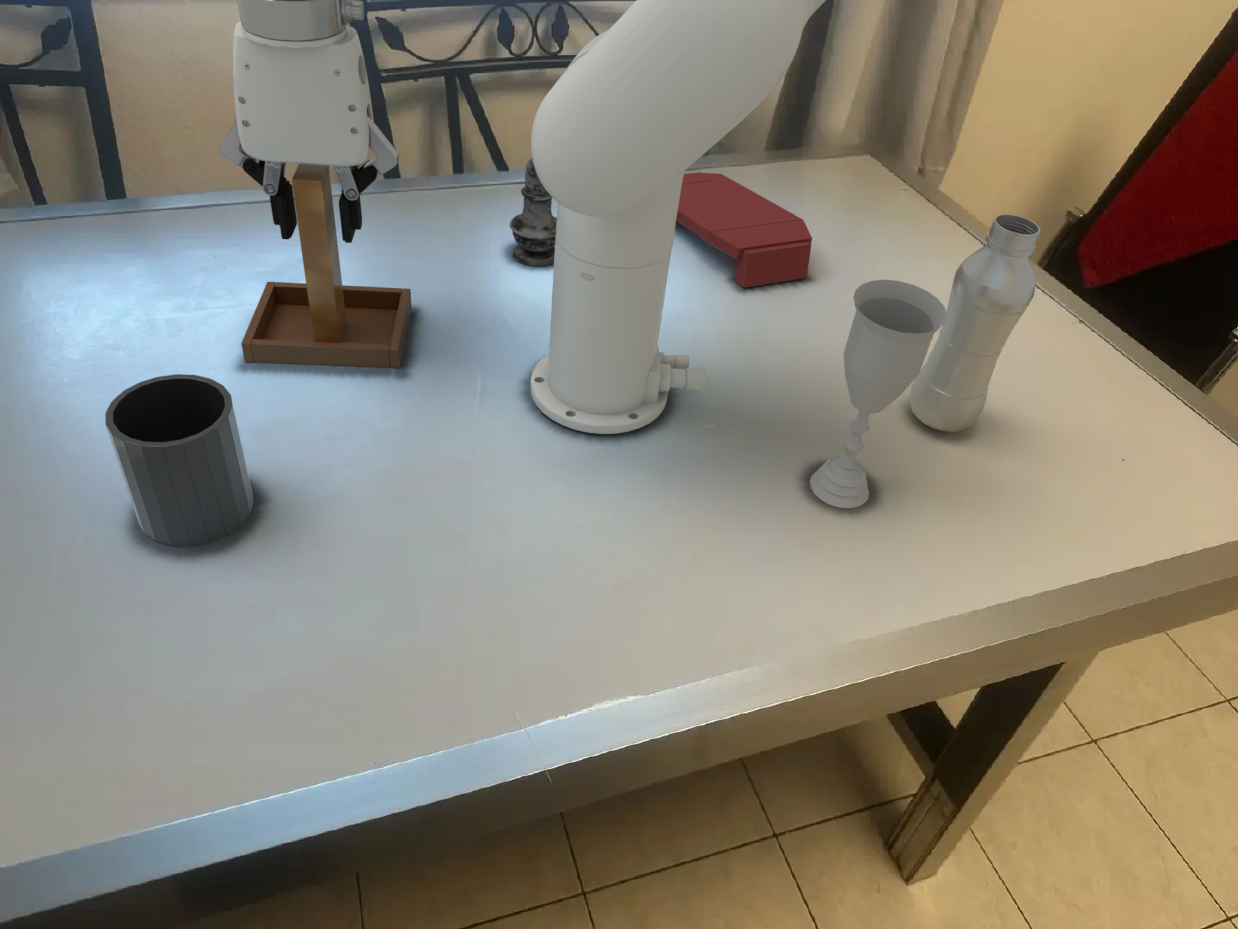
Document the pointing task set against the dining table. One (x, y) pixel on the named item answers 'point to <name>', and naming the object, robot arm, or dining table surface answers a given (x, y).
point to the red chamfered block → (745, 228)
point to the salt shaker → (534, 223)
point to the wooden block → (320, 251)
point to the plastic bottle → (977, 326)
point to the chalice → (878, 372)
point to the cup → (181, 458)
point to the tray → (365, 342)
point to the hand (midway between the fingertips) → (319, 231)
